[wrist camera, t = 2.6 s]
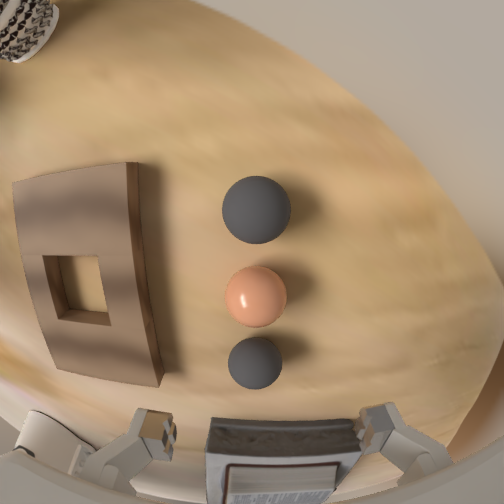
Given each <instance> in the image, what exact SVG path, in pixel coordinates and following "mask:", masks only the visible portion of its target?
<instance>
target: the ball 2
mask: <svg viewBox="0 0 504 504" xmlns="http://www.w3.org/2000/svg"><path fill="white" fill-rule="evenodd" d="M228 368H229V372H230V374H231V376H232V378H233V379H234V380H235V381H236V382H237V383H238V384H239V385H241V386H243V387H245V388H248V389H262V388H265V387H267V386H269V385H271V384H272V383H273V382H274V381H275V380H276V379H277V378H278V376H279V375H280V372H281V369H282V358H281V354H280V352H279V350H278V349H277V348H276V346H275V345H274V344H273V343H271V342H270V341H268V340H266V339H263V338H256V337H254V338H248V339H245V340H242V341H241V342H239V343H238V344H237V345H236V346H235V347H234V348H233V349H232V351H231V353H230V355H229V359H228Z"/></svg>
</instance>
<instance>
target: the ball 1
mask: <svg viewBox="0 0 504 504" xmlns="http://www.w3.org/2000/svg"><path fill="white" fill-rule="evenodd" d="M290 212H291V207H290V201H289V198H288V196H287V194H286V192H285V191H284V189H283V188H282V187H281V186H280V185H279V184H278V183H276V182H275V181H273V180H271V179H269V178H266V177H262V176H251V177H246V178H243V179H241V180H239V181H238V182H236V183H235V184H234V185H233V186H232V187H231V188H230V189H229V190H228V192H227V194H226V196H225V198H224V201H223V206H222V214H223V219H224V222H225V224H226V226H227V228H228V229H229V231H230V232H231V233H232V234H233V235H234V236H235V237H236V238H238V239H239V240H241V241H244V242H246V243H251V244H262V243H266V242H269V241H272V240H274V239H275V238H277V237H278V236H279V235H280V234H281V233H282V232H283V231H284V229H285V228H286V226H287V224H288V222H289V218H290Z"/></svg>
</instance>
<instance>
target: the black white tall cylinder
mask: <svg viewBox="0 0 504 504" xmlns="http://www.w3.org/2000/svg"><path fill="white" fill-rule="evenodd" d="M58 19H59V8H58V7H57V6H56V5H54V4H50V0H48V1H47V0H0V59H5V60H7V61H12V62H16V63H22V62H24V61H26V60H29V59H30V58H31V57H32V56H33V55H35V54H36V53H37V52H38V51H39V50H40V49H41V48H42V46H43V45H44V44H45V43H46V42H47V41H48V39H49V37H50V36H51V34H52V32H53V31H54V29H55V27H56V24H57V22H58Z"/></svg>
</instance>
